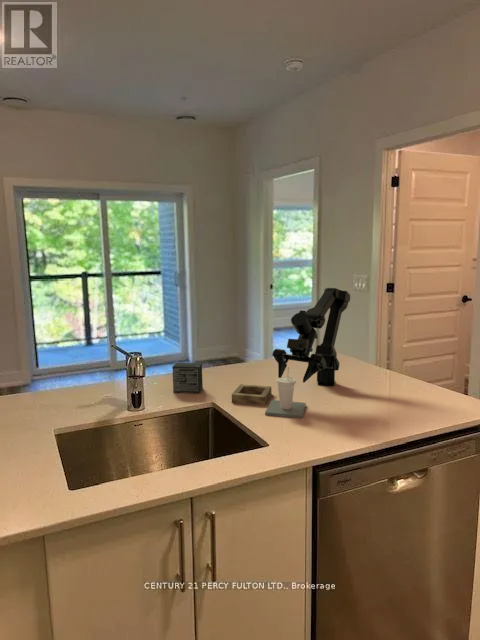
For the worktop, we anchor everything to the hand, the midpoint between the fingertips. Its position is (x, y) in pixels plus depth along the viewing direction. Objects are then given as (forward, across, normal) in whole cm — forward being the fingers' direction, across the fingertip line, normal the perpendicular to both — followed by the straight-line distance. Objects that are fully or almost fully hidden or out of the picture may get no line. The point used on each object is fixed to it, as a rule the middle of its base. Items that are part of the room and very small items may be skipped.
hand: (291, 379), depth 158 cm
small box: (+10, -42, +4) cm, 43 cm away
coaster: (+10, 0, +4) cm, 10 cm away
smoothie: (+9, 0, +4) cm, 10 cm away
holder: (+6, -16, +7) cm, 19 cm away
